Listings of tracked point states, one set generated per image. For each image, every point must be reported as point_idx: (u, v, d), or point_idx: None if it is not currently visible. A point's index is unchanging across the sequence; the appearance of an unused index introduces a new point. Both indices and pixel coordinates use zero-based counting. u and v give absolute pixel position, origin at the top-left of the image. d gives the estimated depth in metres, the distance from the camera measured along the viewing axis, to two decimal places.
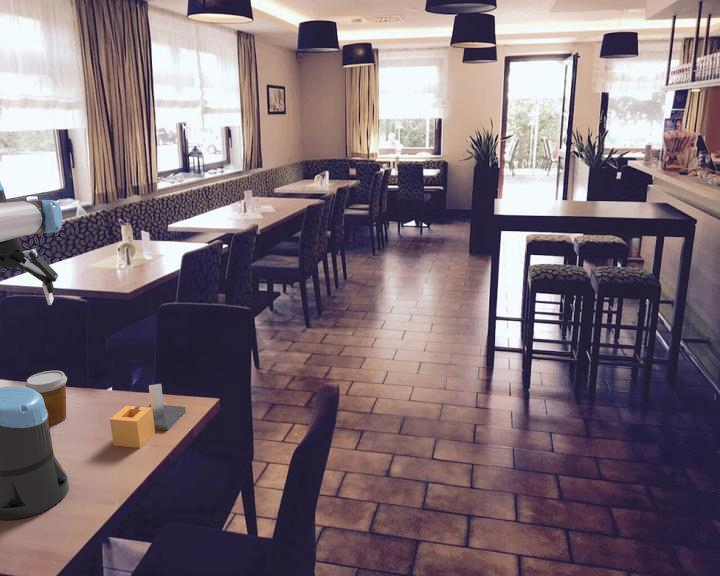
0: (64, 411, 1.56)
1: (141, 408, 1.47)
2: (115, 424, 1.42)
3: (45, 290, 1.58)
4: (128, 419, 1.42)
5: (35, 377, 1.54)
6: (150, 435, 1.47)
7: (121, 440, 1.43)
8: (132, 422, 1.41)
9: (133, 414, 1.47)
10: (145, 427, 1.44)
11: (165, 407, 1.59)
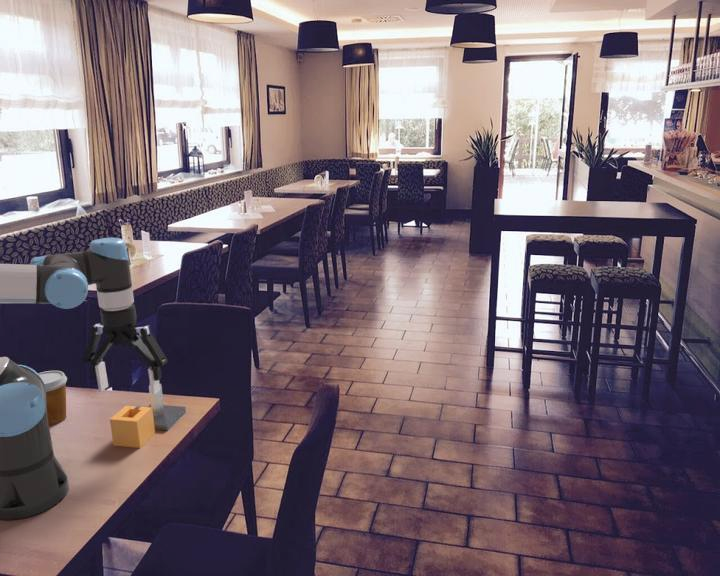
0: (64, 411, 1.56)
1: (141, 408, 1.47)
2: (115, 424, 1.42)
3: (150, 376, 1.39)
4: (128, 419, 1.42)
5: None
6: (150, 435, 1.47)
7: (121, 440, 1.43)
8: (132, 422, 1.41)
9: (133, 414, 1.47)
10: (145, 427, 1.44)
11: (165, 407, 1.59)
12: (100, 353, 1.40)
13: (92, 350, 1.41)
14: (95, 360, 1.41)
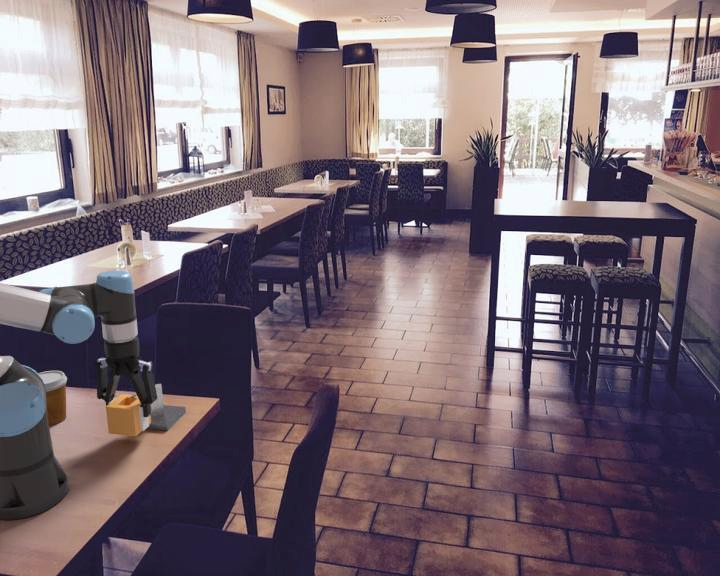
0: (64, 411, 1.56)
1: (137, 396, 1.46)
2: (111, 412, 1.41)
3: (140, 412, 1.42)
4: (124, 406, 1.40)
5: None
6: None
7: (117, 428, 1.42)
8: (128, 410, 1.40)
9: (129, 402, 1.46)
10: None
11: (165, 407, 1.59)
12: (110, 388, 1.42)
13: (103, 385, 1.43)
14: (108, 396, 1.42)
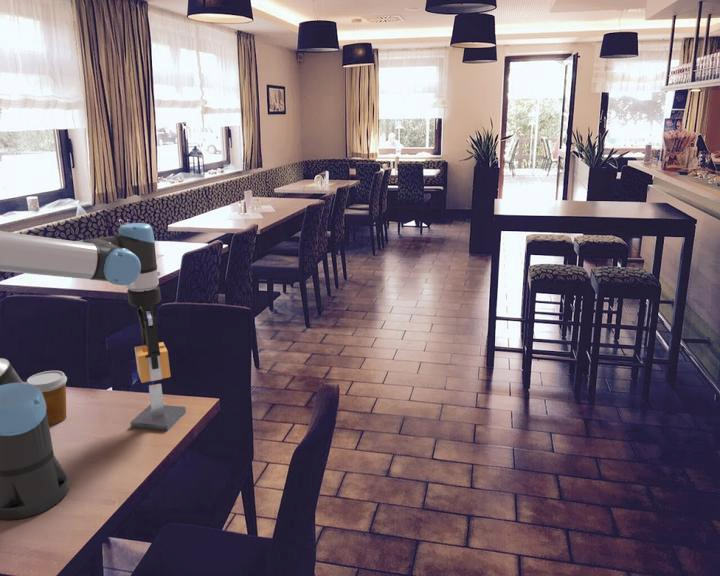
0: (64, 411, 1.56)
1: (162, 348, 1.50)
2: (135, 353, 1.51)
3: (148, 363, 1.47)
4: (139, 352, 1.48)
5: (35, 377, 1.54)
6: None
7: (138, 370, 1.51)
8: (137, 356, 1.47)
9: None
10: None
11: (165, 407, 1.59)
12: (142, 332, 1.52)
13: None
14: (143, 339, 1.53)
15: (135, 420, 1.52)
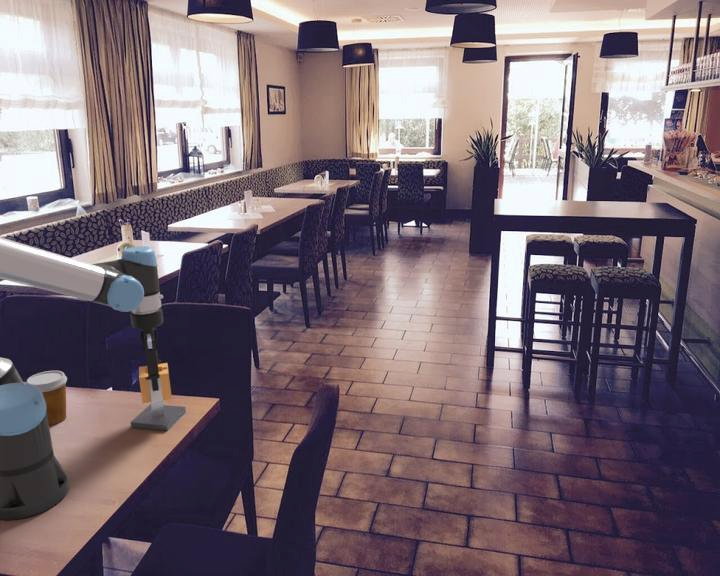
0: (64, 411, 1.56)
1: (164, 370, 1.52)
2: None
3: (149, 384, 1.48)
4: (142, 373, 1.50)
5: (35, 377, 1.54)
6: None
7: None
8: (139, 377, 1.49)
9: None
10: None
11: (165, 407, 1.59)
12: None
13: None
14: None
15: (135, 420, 1.52)
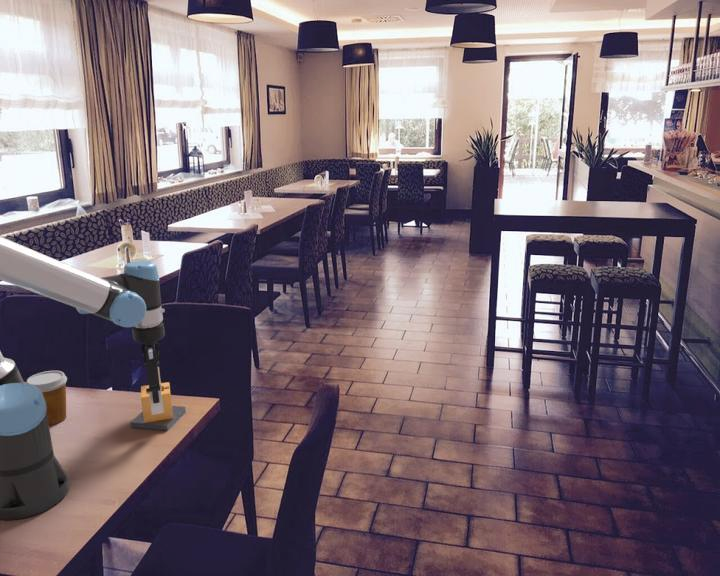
0: (64, 411, 1.56)
1: (166, 389, 1.53)
2: None
3: None
4: (144, 392, 1.52)
5: (35, 377, 1.54)
6: (163, 417, 1.52)
7: None
8: (141, 396, 1.50)
9: None
10: None
11: None
12: None
13: None
14: None
15: (135, 420, 1.52)
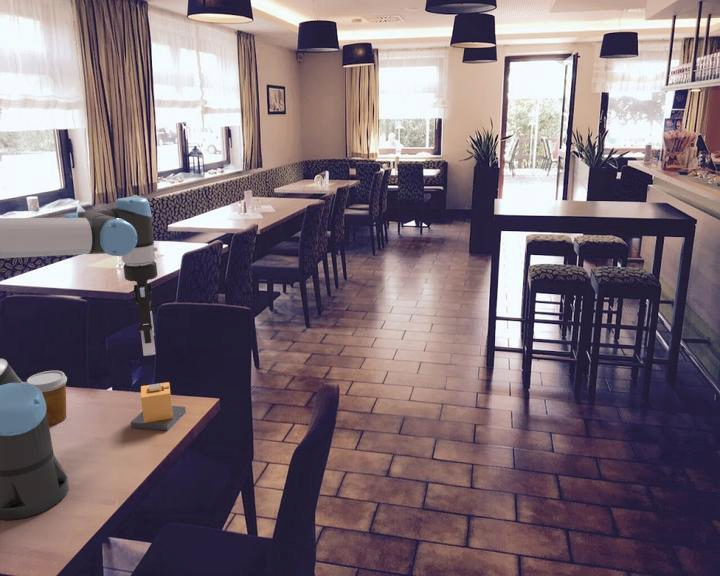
0: (64, 411, 1.56)
1: (166, 389, 1.53)
2: None
3: (141, 336, 1.42)
4: (144, 392, 1.52)
5: (35, 377, 1.54)
6: (163, 417, 1.52)
7: None
8: (141, 396, 1.50)
9: None
10: (156, 407, 1.51)
11: None
12: None
13: None
14: None
15: (135, 420, 1.52)
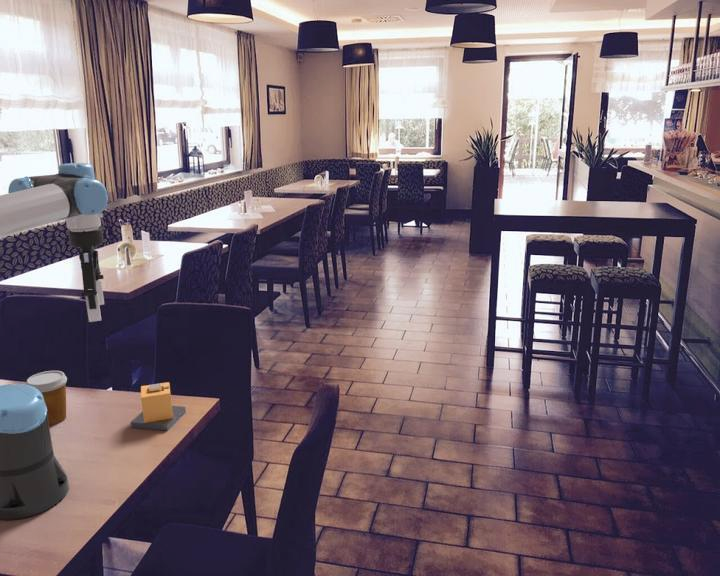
0: (64, 411, 1.56)
1: (166, 389, 1.53)
2: None
3: (86, 302, 1.42)
4: (144, 392, 1.52)
5: (35, 377, 1.54)
6: (163, 417, 1.52)
7: None
8: (141, 396, 1.50)
9: None
10: (156, 407, 1.51)
11: None
12: None
13: None
14: None
15: (135, 420, 1.52)
